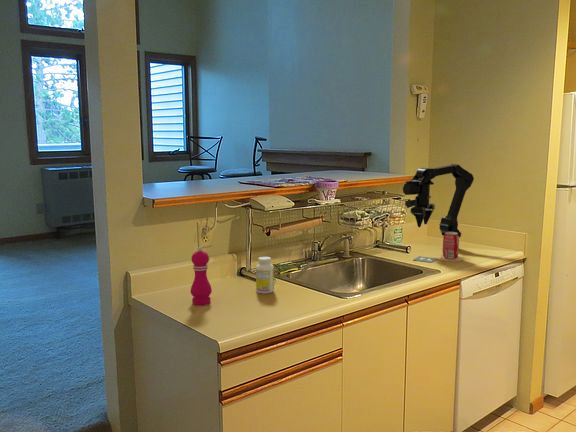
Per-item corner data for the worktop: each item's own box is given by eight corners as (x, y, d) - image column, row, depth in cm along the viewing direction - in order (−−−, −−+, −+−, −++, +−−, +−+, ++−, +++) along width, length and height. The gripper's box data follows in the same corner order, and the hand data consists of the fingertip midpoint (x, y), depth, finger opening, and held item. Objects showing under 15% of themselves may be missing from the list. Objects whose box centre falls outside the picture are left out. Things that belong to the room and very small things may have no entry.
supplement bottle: (265, 287, 209) (265, 255, 207) (277, 291, 204) (277, 257, 202) (252, 291, 204) (252, 257, 202) (264, 295, 200) (264, 260, 198)
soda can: (453, 256, 258) (454, 231, 256) (461, 259, 252) (462, 233, 250) (439, 256, 257) (440, 231, 255) (446, 260, 250) (447, 234, 248)
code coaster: (419, 256, 260) (419, 256, 260) (437, 258, 255) (437, 258, 255) (412, 260, 252) (412, 259, 252) (431, 262, 247) (431, 262, 247)
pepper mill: (193, 299, 195) (191, 244, 191) (213, 299, 194) (212, 244, 191) (189, 306, 187) (187, 249, 184) (210, 306, 187) (208, 249, 184)
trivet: (443, 255, 261) (443, 255, 261) (465, 258, 256) (465, 257, 256) (437, 260, 253) (437, 259, 253) (459, 262, 247) (459, 261, 247)
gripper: (414, 191, 277) (413, 221, 280) (400, 194, 262) (399, 227, 264) (435, 192, 271) (434, 223, 274) (423, 196, 256) (422, 229, 258)
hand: (422, 225), depth 268 cm, fingers open, 9 cm apart
